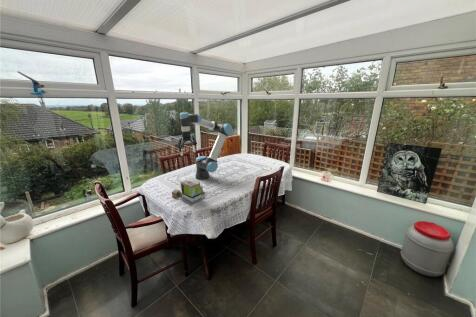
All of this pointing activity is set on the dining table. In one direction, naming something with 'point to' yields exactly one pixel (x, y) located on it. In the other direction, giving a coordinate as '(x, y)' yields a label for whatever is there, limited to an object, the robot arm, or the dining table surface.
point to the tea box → (191, 190)
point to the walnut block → (176, 193)
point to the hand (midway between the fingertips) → (188, 153)
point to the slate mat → (190, 201)
